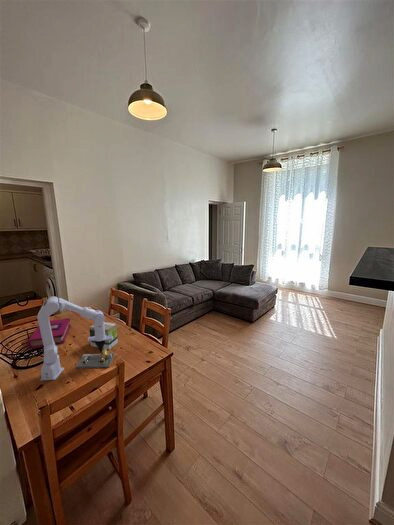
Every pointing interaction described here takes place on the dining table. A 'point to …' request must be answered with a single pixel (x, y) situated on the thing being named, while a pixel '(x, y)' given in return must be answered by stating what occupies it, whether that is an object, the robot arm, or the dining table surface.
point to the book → (58, 333)
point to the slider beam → (94, 356)
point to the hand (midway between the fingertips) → (101, 350)
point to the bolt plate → (95, 363)
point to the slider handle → (104, 354)
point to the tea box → (109, 331)
